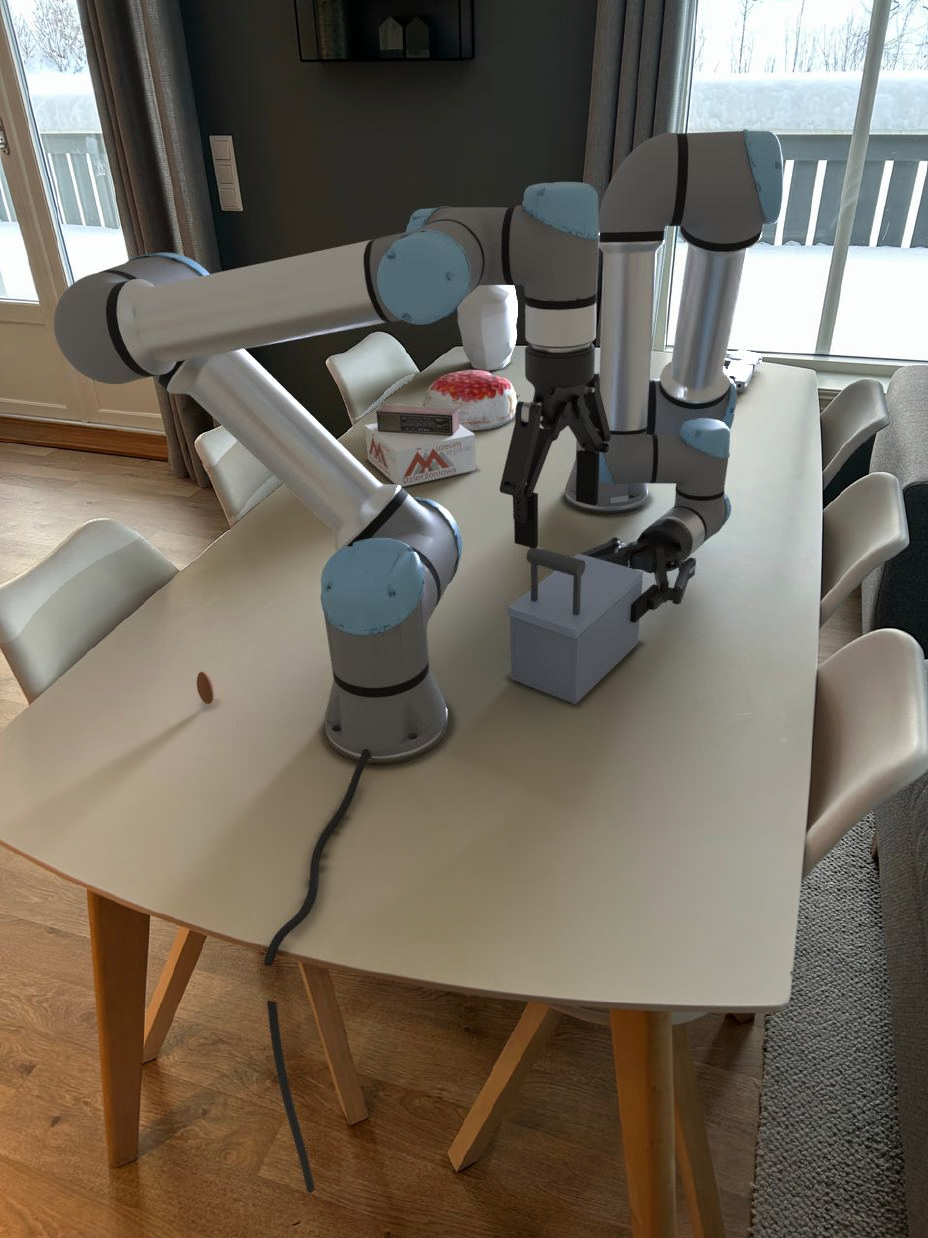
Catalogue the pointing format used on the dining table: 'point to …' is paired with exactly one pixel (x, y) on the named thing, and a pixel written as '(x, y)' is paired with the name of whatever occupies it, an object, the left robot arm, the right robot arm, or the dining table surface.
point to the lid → (571, 591)
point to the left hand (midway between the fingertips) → (557, 523)
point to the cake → (474, 398)
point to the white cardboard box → (419, 443)
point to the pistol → (741, 367)
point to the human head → (488, 325)
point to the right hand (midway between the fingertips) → (598, 602)
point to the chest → (573, 651)
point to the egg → (205, 687)
